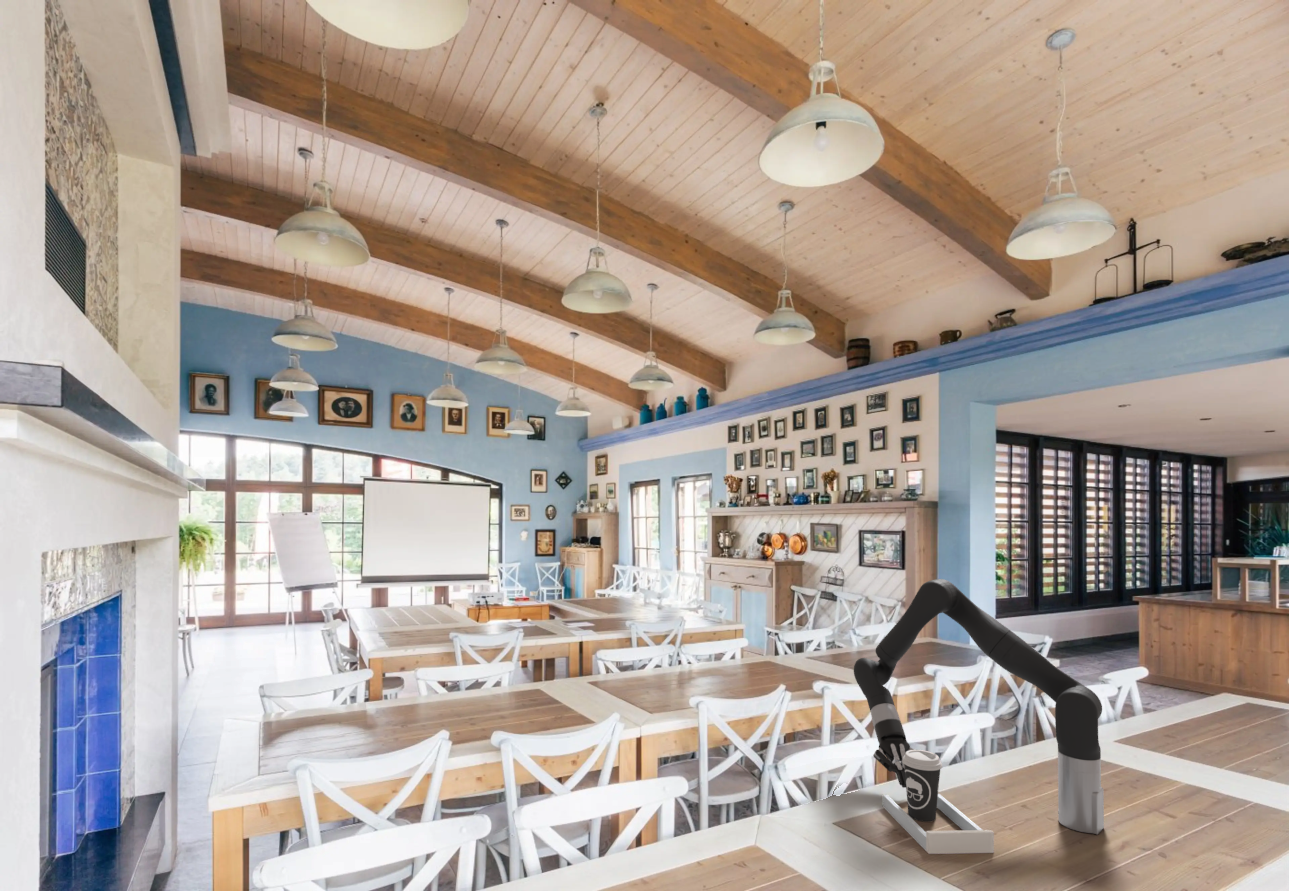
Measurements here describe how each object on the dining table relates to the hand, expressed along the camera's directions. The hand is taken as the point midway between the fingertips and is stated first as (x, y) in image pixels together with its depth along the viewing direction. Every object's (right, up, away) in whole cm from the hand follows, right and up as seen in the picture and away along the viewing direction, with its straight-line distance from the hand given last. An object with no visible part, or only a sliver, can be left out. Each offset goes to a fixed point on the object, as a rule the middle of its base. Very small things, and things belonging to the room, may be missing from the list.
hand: (906, 786), depth 194 cm
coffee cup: (+1, -4, -9) cm, 10 cm away
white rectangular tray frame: (+1, -3, -15) cm, 15 cm away
